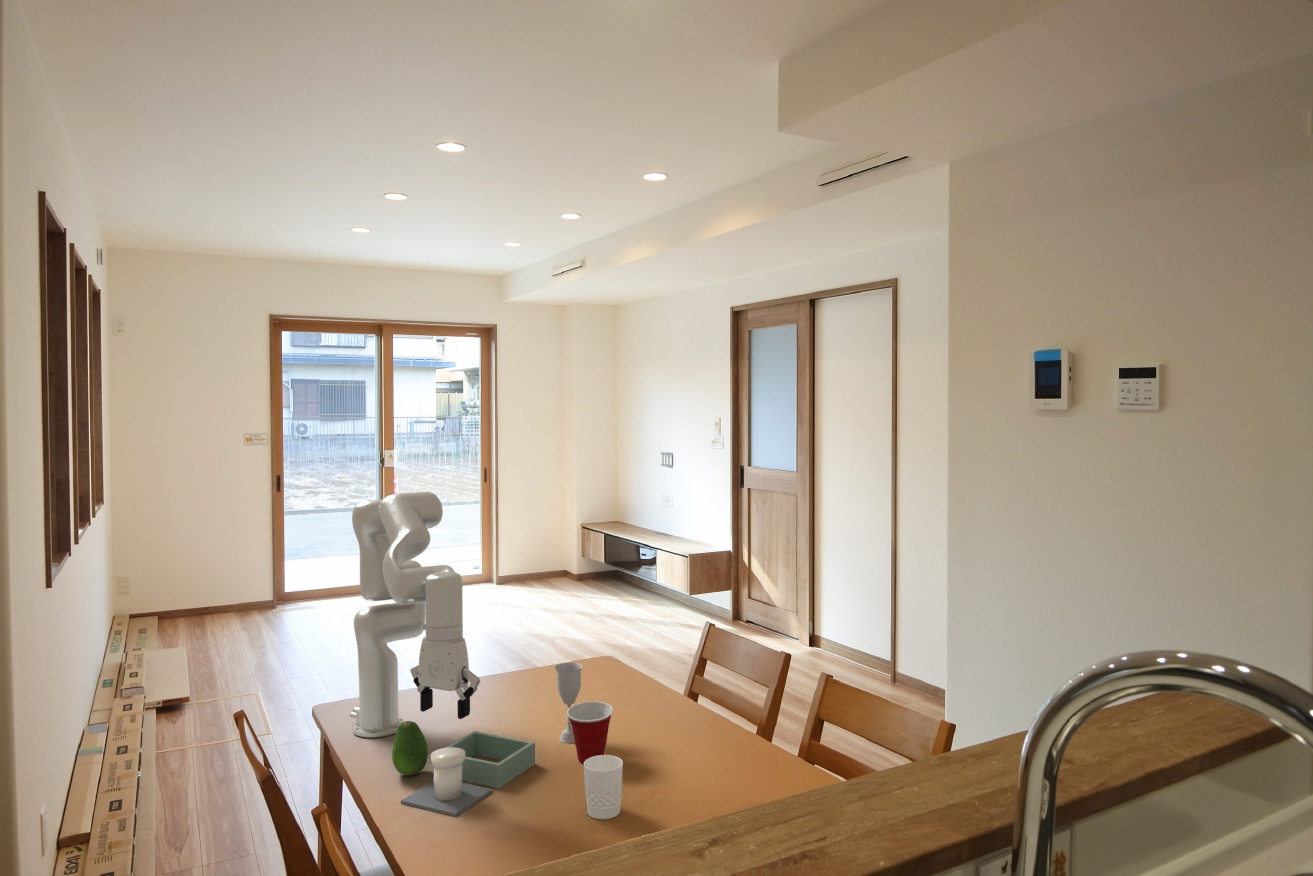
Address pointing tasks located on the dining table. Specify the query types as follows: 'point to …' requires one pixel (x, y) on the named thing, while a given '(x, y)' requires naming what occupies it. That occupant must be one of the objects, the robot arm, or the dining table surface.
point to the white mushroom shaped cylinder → (447, 773)
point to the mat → (450, 807)
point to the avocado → (409, 749)
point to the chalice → (568, 691)
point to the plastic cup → (590, 727)
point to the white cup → (603, 786)
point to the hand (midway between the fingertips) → (445, 713)
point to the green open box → (489, 773)
